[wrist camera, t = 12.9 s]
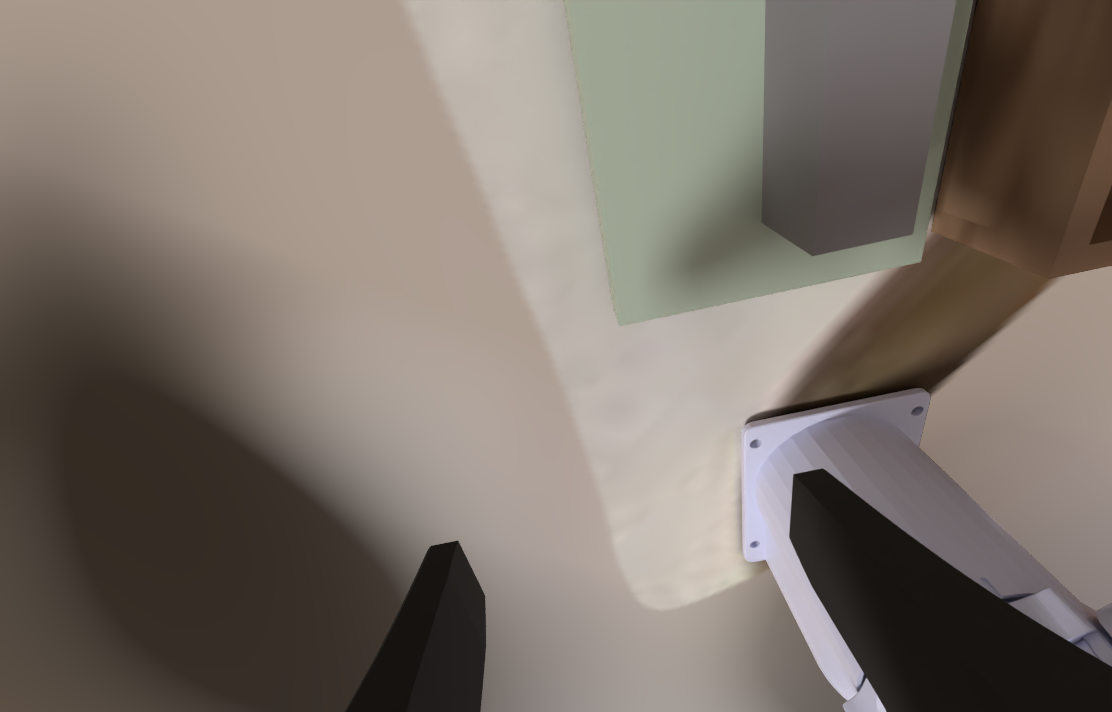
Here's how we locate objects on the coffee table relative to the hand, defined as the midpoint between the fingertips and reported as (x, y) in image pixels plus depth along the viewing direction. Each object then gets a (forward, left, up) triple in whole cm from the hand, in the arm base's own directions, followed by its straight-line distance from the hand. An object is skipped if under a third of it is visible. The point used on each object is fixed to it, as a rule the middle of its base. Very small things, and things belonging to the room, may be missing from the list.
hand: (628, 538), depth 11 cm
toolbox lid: (+8, -7, -10) cm, 14 cm away
